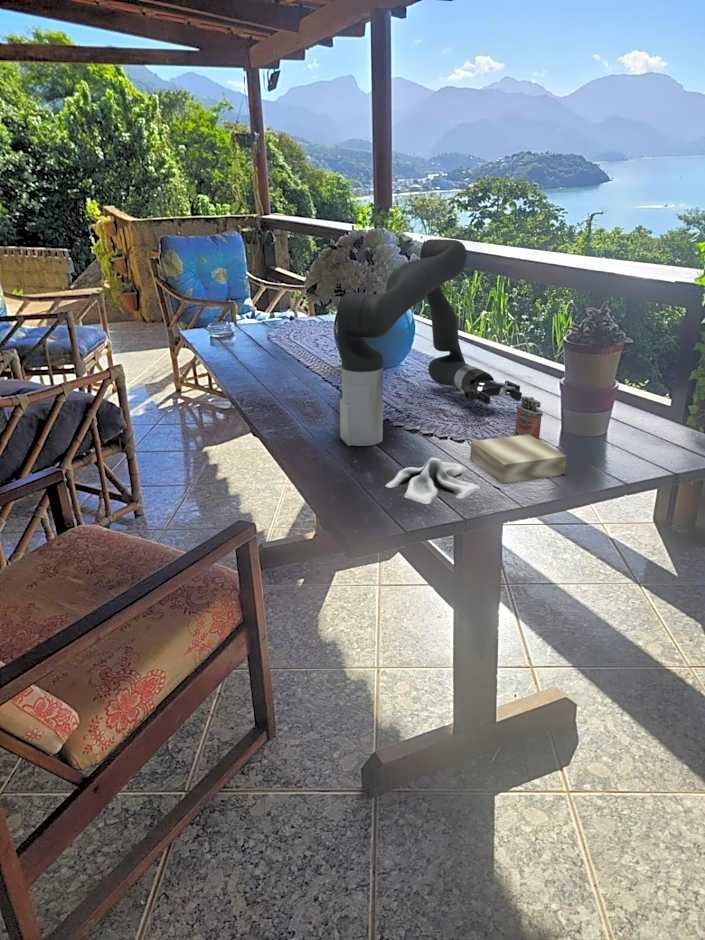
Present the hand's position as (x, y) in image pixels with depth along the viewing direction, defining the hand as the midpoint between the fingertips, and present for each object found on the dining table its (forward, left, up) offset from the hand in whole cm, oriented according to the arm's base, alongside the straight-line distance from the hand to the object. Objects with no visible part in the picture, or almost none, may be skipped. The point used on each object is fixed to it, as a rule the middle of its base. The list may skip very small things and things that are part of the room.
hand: (504, 398), depth 162 cm
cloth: (-32, -27, -7) cm, 43 cm away
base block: (-11, -25, -7) cm, 28 cm away
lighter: (0, -11, -7) cm, 13 cm away
